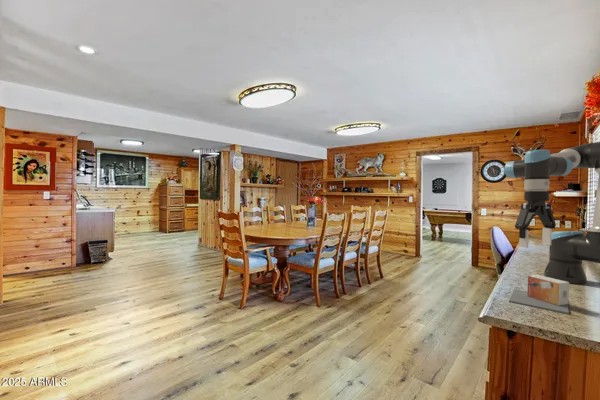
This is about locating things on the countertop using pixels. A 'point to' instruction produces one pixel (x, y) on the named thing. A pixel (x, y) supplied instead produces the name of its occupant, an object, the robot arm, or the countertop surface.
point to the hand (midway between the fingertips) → (535, 245)
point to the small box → (548, 289)
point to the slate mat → (536, 302)
